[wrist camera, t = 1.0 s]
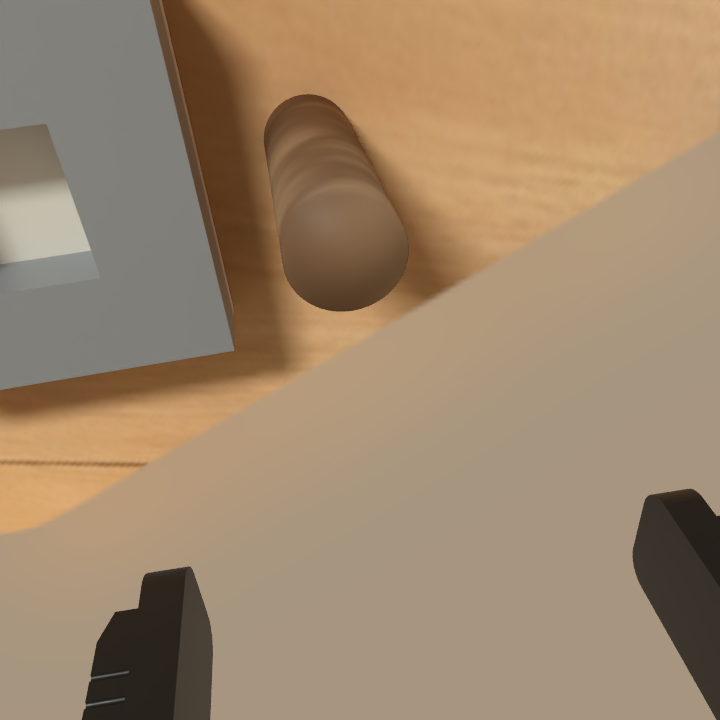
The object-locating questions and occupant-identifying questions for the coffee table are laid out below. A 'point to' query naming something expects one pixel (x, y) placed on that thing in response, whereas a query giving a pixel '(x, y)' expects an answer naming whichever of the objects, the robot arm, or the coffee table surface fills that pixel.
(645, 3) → the coffee table surface
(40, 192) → the socket block
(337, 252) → the walnut peg
